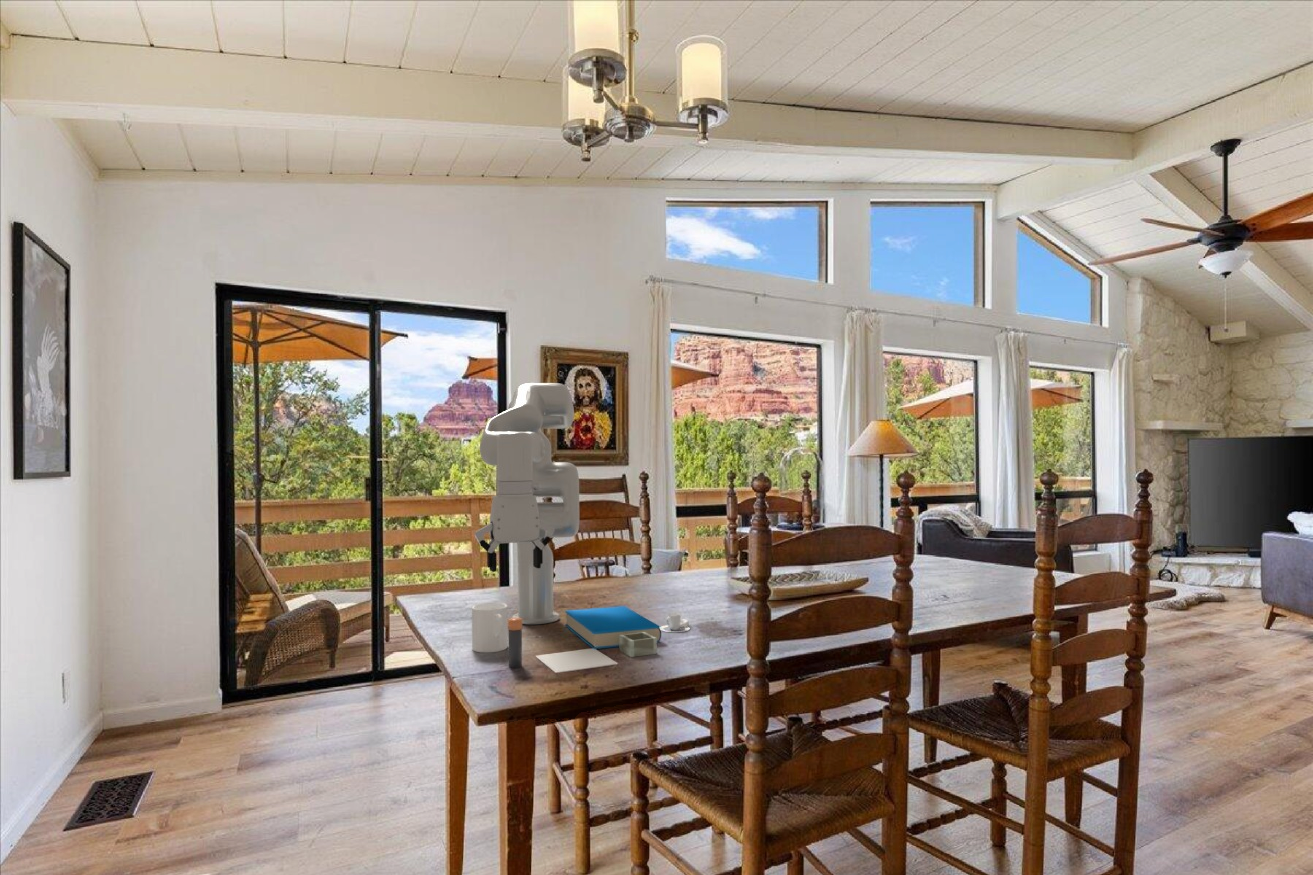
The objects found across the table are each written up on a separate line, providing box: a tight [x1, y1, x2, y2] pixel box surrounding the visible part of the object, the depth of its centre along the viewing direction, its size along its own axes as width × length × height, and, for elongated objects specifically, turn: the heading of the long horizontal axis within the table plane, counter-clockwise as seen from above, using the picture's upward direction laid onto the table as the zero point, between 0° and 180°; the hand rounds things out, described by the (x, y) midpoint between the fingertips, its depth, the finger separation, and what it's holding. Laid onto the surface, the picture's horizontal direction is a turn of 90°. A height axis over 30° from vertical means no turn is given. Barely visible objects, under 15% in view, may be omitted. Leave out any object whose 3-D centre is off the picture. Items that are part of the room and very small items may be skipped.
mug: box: [471, 602, 509, 654], centre depth 179 cm, size 8×12×10 cm
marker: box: [508, 617, 523, 669], centre depth 166 cm, size 3×3×10 cm
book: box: [564, 605, 662, 650], centre depth 193 cm, size 17×4×25 cm
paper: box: [534, 647, 619, 674], centre depth 169 cm, size 14×14×1 cm
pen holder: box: [618, 632, 658, 658], centre depth 176 cm, size 6×6×4 cm
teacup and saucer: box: [659, 612, 691, 633], centre depth 198 cm, size 9×8×4 cm
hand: (515, 569), depth 166 cm, fingers open, 9 cm apart
